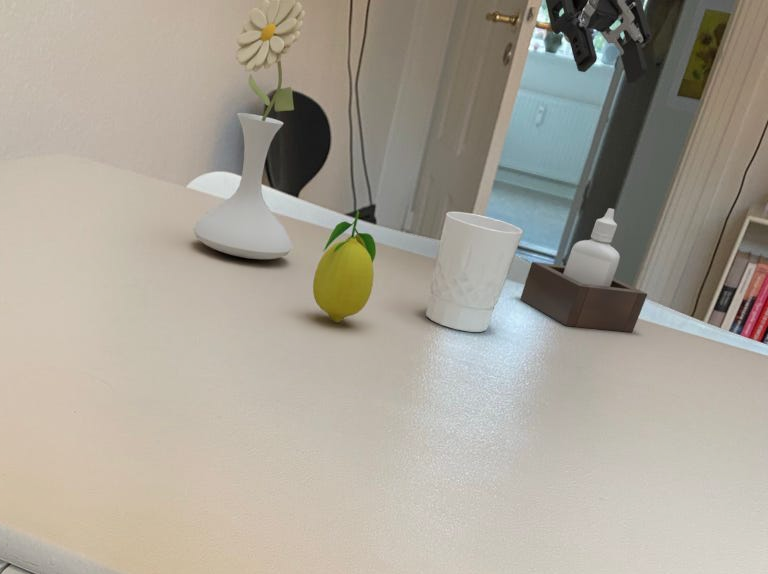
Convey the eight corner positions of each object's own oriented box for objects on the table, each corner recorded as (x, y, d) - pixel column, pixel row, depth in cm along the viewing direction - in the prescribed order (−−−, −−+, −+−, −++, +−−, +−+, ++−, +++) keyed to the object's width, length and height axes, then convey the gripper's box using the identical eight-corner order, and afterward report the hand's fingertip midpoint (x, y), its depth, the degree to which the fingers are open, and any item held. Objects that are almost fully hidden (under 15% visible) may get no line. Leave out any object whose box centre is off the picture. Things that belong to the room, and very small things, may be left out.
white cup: (409, 306, 98) (434, 207, 92) (473, 314, 101) (501, 218, 95) (437, 330, 92) (466, 225, 86) (504, 338, 95) (537, 236, 89)
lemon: (308, 328, 84) (330, 212, 78) (294, 309, 89) (315, 198, 83) (375, 336, 86) (402, 224, 80) (358, 317, 90) (383, 210, 85)
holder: (584, 306, 116) (597, 269, 113) (632, 332, 108) (647, 293, 106) (519, 299, 112) (531, 261, 109) (565, 326, 104) (579, 285, 102)
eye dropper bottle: (573, 321, 107) (612, 212, 101) (546, 306, 111) (581, 201, 105) (602, 323, 109) (642, 217, 102) (574, 308, 113) (610, 205, 106)
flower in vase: (181, 235, 106) (209, -25, 92) (272, 246, 110) (312, -1, 96) (208, 266, 97) (245, -20, 83) (307, 277, 101) (358, 7, 87)
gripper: (560, -102, 98) (597, 37, 97) (645, -70, 105) (681, 59, 104) (512, -45, 104) (546, 86, 103) (595, -19, 111) (628, 104, 110)
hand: (613, 73), depth 103 cm, fingers open, 8 cm apart
